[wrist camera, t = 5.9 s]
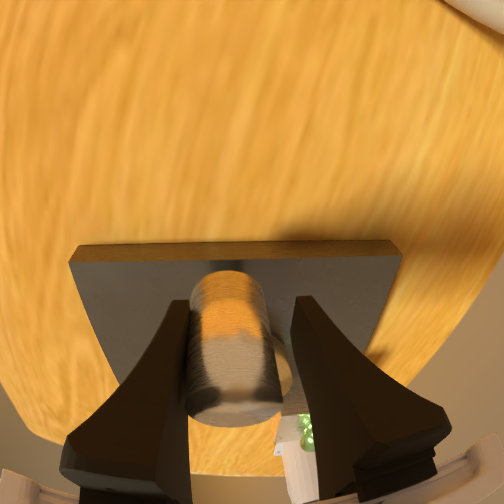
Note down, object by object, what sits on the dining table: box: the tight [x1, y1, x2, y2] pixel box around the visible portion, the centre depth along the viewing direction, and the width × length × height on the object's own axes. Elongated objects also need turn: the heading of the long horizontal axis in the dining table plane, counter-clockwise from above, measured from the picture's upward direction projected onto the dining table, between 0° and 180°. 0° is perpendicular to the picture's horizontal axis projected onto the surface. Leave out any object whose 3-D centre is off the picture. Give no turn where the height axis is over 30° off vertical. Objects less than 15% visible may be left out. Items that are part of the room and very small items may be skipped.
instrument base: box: [68, 240, 402, 452], centre depth 17 cm, size 15×17×6 cm
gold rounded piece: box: [184, 270, 293, 427], centre depth 14 cm, size 12×6×7 cm, turn 3°
